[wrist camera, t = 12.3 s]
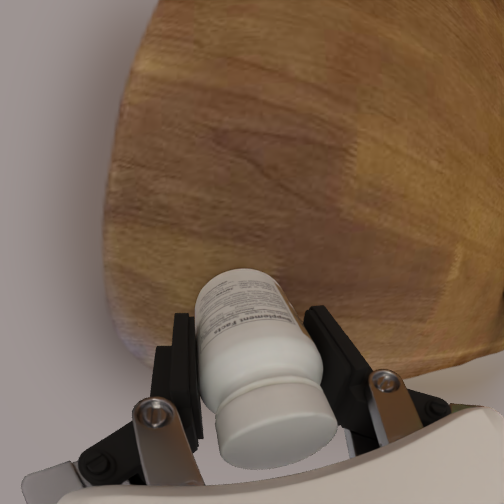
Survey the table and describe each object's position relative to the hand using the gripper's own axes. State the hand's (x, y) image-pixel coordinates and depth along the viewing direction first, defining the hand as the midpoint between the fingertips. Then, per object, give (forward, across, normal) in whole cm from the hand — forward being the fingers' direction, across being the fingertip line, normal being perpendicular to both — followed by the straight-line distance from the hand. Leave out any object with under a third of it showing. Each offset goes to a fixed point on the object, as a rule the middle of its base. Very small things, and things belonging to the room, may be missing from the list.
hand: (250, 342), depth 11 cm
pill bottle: (+3, 0, 0) cm, 3 cm away
